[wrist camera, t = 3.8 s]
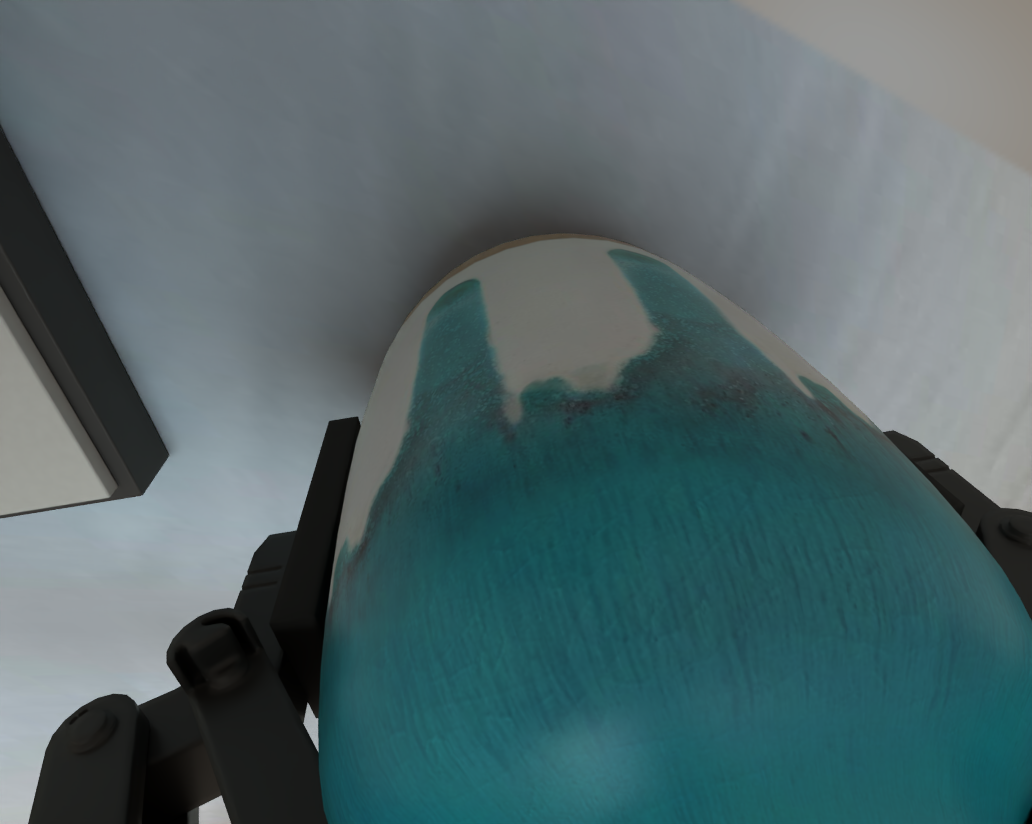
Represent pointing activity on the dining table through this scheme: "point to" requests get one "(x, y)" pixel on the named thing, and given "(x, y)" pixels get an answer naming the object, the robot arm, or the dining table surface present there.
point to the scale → (59, 375)
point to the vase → (650, 576)
